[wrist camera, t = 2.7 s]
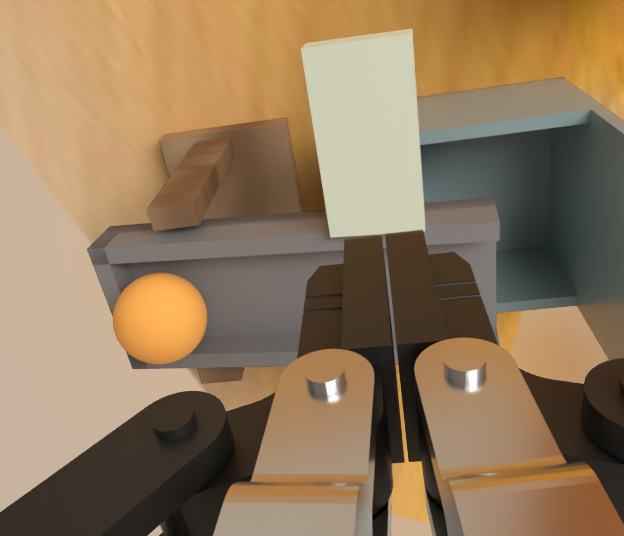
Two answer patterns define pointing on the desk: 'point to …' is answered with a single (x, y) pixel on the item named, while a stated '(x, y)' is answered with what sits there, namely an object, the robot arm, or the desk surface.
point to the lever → (312, 214)
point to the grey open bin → (538, 192)
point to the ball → (160, 318)
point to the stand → (226, 184)
